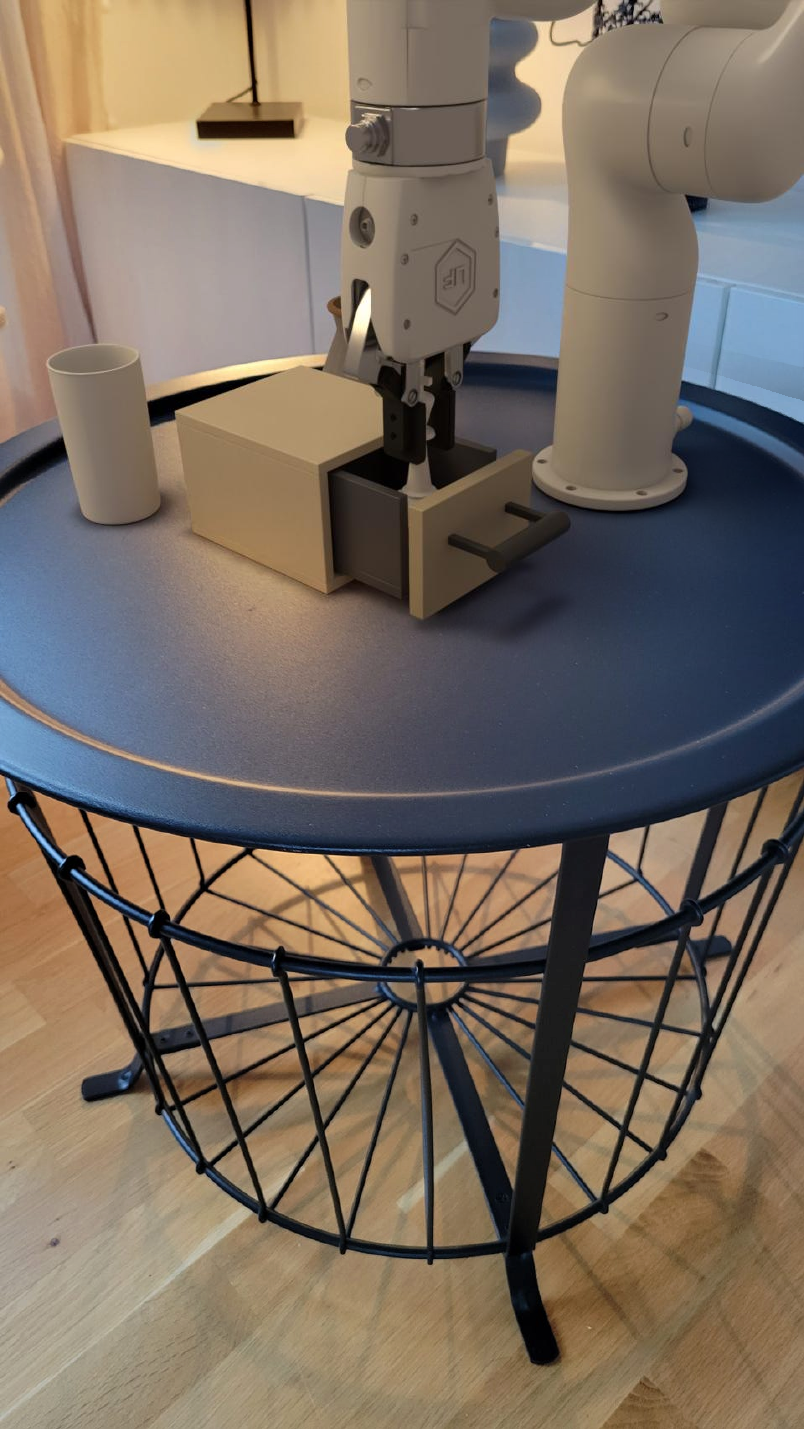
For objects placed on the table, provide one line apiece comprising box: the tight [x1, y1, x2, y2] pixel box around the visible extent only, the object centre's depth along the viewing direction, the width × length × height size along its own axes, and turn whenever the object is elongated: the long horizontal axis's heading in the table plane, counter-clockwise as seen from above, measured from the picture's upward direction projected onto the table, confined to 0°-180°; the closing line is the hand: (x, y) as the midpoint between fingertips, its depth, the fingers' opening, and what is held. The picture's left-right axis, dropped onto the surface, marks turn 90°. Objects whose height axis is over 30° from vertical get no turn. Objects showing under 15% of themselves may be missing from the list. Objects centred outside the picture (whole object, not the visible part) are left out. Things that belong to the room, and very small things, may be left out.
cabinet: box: [174, 364, 383, 595], centre depth 78 cm, size 15×13×10 cm
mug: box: [45, 343, 162, 525], centre depth 82 cm, size 10×7×12 cm, turn 178°
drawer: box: [327, 435, 572, 621], centre depth 72 cm, size 18×11×8 cm, turn 48°
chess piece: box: [398, 365, 438, 527], centre depth 69 cm, size 5×5×10 cm
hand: (419, 449), depth 69 cm, fingers closed on chess piece
